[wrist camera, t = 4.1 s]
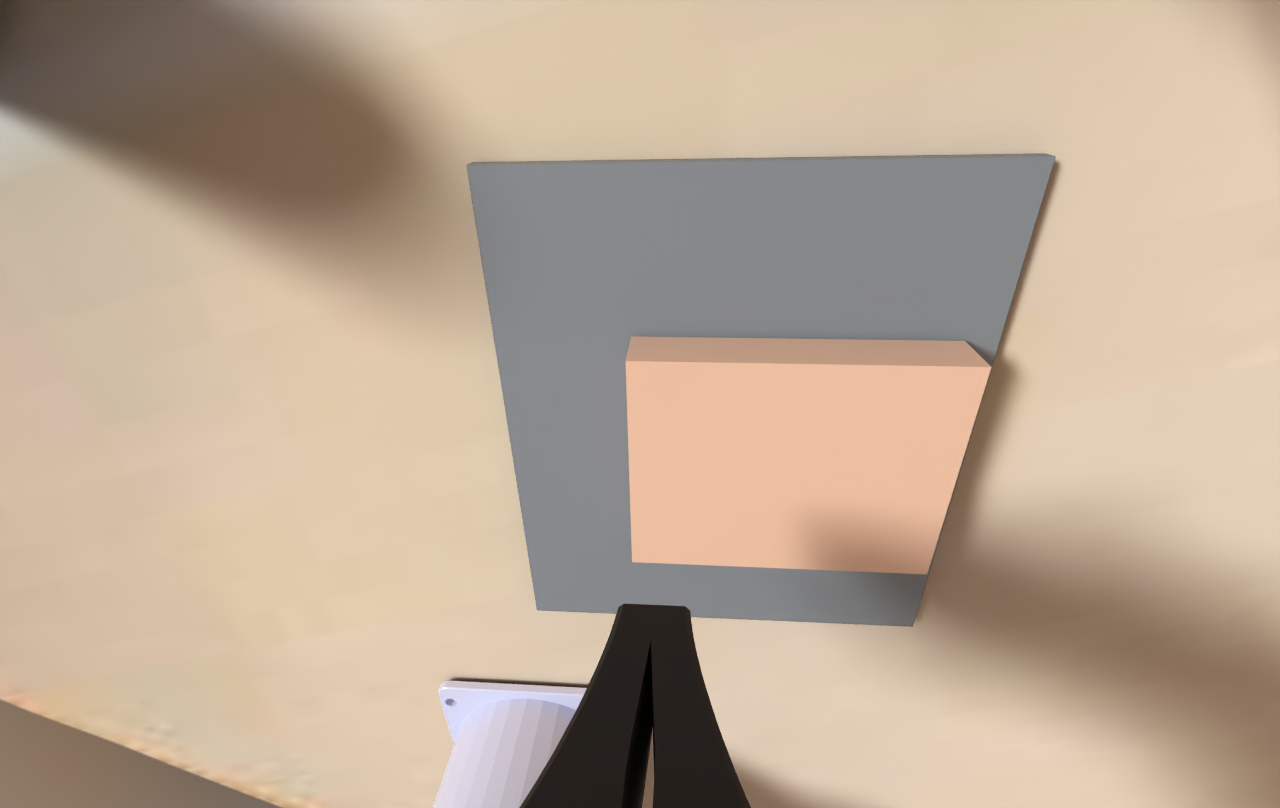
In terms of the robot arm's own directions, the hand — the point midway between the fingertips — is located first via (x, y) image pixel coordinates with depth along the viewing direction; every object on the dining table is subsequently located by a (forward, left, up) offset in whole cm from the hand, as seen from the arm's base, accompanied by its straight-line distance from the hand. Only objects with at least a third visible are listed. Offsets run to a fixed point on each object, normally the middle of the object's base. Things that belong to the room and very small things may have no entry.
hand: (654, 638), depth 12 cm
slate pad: (0, -2, -8) cm, 8 cm away
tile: (0, +1, -6) cm, 6 cm away
